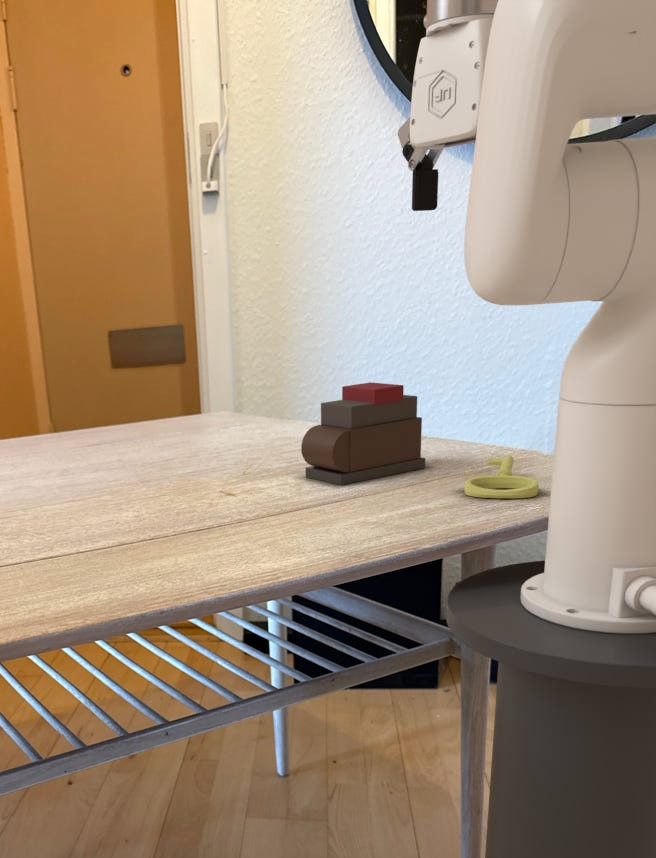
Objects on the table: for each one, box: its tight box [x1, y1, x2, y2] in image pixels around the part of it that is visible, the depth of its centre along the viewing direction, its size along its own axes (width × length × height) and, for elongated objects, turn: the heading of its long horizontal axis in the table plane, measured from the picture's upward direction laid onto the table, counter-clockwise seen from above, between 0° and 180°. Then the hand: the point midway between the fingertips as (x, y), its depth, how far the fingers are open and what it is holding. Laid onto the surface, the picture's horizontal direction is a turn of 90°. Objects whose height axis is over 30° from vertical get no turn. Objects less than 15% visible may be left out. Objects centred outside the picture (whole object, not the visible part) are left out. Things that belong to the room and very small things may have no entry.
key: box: [463, 455, 540, 499], centre depth 99 cm, size 7×12×2 cm, turn 176°
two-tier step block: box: [320, 381, 418, 429], centre depth 107 cm, size 10×6×4 cm, turn 120°
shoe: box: [300, 416, 426, 486], centre depth 109 cm, size 14×7×6 cm, turn 120°
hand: (458, 205), depth 96 cm, fingers open, 9 cm apart
